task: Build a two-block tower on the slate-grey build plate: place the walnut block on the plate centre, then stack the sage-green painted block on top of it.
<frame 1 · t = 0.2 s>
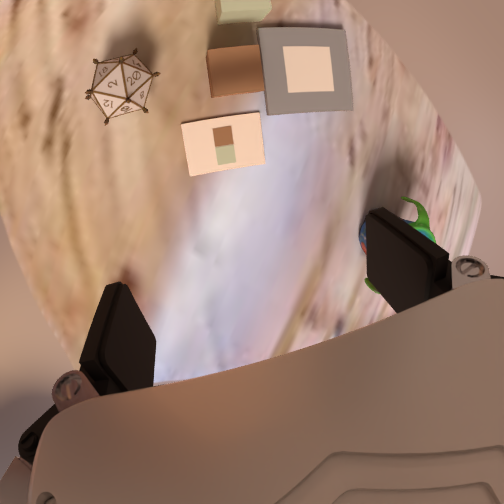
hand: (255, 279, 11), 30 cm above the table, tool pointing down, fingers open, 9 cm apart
walnut block: (230, 74, 33), on the table
build plate: (306, 69, 34), on the table
sage block: (237, 5, 28), on the table
snack cup: (375, 230, 48), on the table
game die: (128, 87, 31), on the table
instruction card: (223, 143, 37), on the table
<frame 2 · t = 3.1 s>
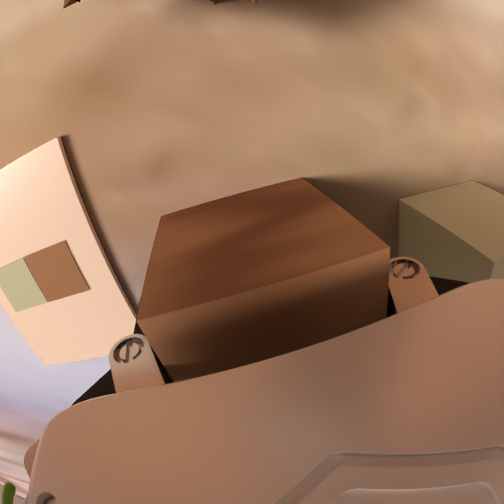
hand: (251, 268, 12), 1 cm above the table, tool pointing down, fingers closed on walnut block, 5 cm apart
walnut block: (248, 258, 12), on the table, touching gripper
sage block: (436, 236, 14), on the table
snack cup: (67, 475, 21), on the table
instruction card: (42, 274, 11), on the table
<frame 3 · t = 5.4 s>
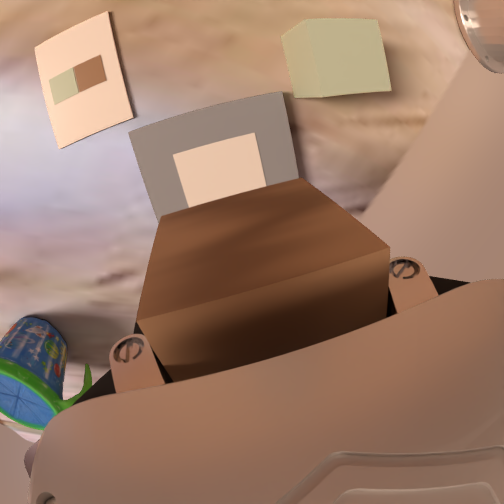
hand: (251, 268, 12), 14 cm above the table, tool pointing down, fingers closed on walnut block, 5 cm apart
walnut block: (247, 258, 12), point 14 cm above the table, touching gripper
build plate: (222, 178, 24), on the table
sage block: (318, 63, 21), on the table
snack cup: (42, 337, 29), on the table
instruction card: (80, 78, 18), on the table
when the fingers open (3 cm above the table, at t = 7.7 s): walnut block drops 1 cm, resting on build plate.
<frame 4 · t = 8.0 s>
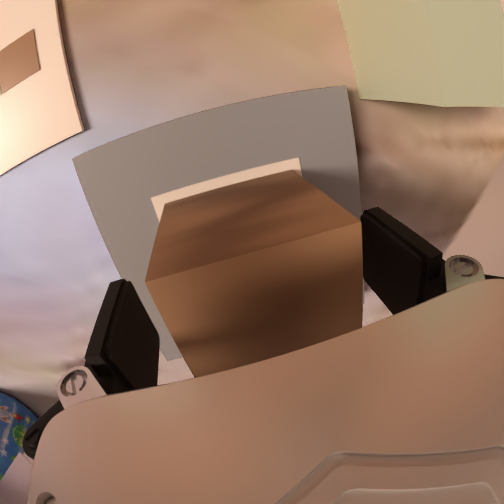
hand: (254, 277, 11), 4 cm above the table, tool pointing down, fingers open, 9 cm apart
walnut block: (243, 242, 14), point 1 cm above the table, touching build plate
build plate: (238, 232, 15), on the table
sage block: (392, 47, 11), on the table
snack cup: (13, 409, 19), on the table
instruction card: (5, 71, 8), on the table
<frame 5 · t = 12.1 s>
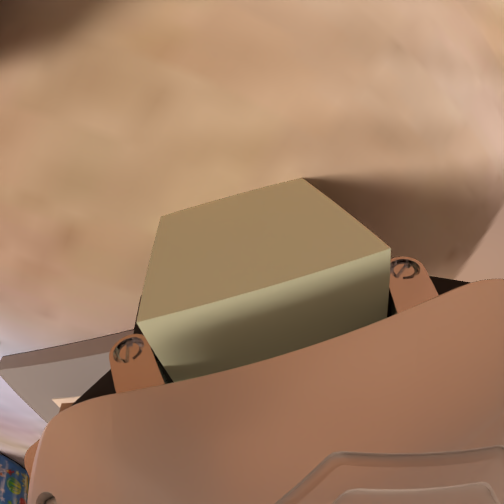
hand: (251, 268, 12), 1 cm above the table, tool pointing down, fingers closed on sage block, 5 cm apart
build plate: (123, 408, 16), on the table
sage block: (248, 258, 12), on the table, touching gripper
snack cup: (6, 460, 20), on the table
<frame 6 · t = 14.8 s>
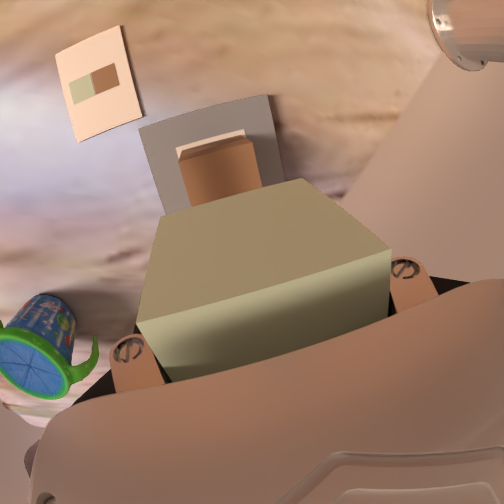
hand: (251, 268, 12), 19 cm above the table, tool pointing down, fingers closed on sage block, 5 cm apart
walnut block: (218, 170, 27), point 1 cm above the table, touching build plate
build plate: (217, 167, 28), on the table
sage block: (248, 258, 12), point 18 cm above the table, touching gripper
snack cup: (53, 314, 33), on the table
instruction card: (96, 82, 22), on the table
when the fingers open (9 cm above the table, at t = 17.3 s): sage block drops 1 cm, resting on walnut block.
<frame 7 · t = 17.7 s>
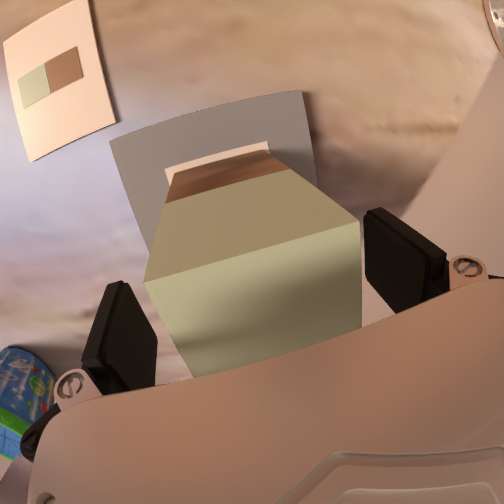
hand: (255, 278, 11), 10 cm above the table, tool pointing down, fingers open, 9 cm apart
walnut block: (228, 201, 19), point 1 cm above the table, touching build plate, sage block
build plate: (226, 196, 20), on the table
sage block: (242, 242, 14), point 7 cm above the table, touching walnut block
snack cup: (28, 367, 24), on the table
instruction card: (53, 76, 14), on the table
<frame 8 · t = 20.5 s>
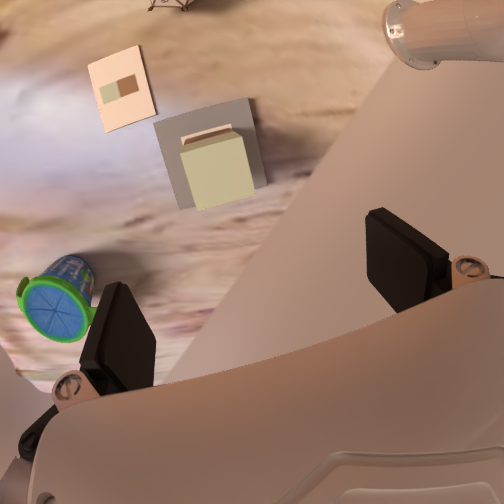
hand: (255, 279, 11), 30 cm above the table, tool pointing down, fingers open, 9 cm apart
walnut block: (212, 153, 36), point 1 cm above the table, touching build plate, sage block
build plate: (211, 152, 37), on the table
sage block: (214, 162, 31), point 7 cm above the table, touching walnut block
snack cup: (74, 274, 42), on the table
instruction card: (120, 88, 31), on the table
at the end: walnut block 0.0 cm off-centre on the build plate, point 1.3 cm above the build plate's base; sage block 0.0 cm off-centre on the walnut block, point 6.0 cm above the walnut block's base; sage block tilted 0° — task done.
